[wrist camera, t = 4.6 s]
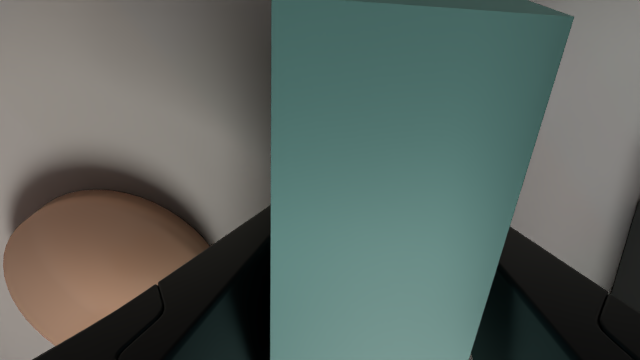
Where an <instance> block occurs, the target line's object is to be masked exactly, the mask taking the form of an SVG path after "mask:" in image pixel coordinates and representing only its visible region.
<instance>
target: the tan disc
mask: <svg viewBox="0 0 640 360" xmlns="http://www.w3.org/2000/svg"><path fill="white" fill-rule="evenodd" d="M209 247H210V246H209V245H208V244H207V242H206V241H205V240H204V239H203V238H202V237H201V236H200V235H199V234H198V233H197V232H196V231H195V230H194V229H193V228H192V227H191V226H190V225H189V224H187V223H186V222H185V221H184V220H182V219H181V218H180V217H178V216H177V215H175V214H173V213H172V212H170V211H169V210H167V209H165V208H163V207H161V206H159V205H157V204H155V203H154V202H151V201H148V200H146V199H143V198H141V197H138V196H134V195H131V194H127V193H123V192H117V191H111V190H95V189H94V190H81V191H76V192H72V193H67V194H65V195H62V196H60V197H57V198H55V199H53V200H52V201H50V202H48V203H47V204H45V205H44V206H43V207H42V208H40V209H39V210H38V211H36V212H35V213H34V214H33V215H31V216H30V217H29V218H28V219H26V220H25V221H24V222H23V223H22V224H21V225H19V226H18V227H17V228H16V230H15V231H14V232H13V234H12V235H11V236H10V238H9V241H8V243H7V245H6V248H5V252H4V260H3V269H4V277H5V280H6V284H7V287H8V290H9V292H10V294H11V297H12V299H13V301H14V302H15V304H16V306H17V307H18V309H19V310H20V312H21V313H22V314H23V316H24V317H25V318H26V320H27V321H28V322H29V323H30V324H31V325H32V326H33V327H34V328H35V329H36V330H37V331H38V332H39V333H40V334H41V335H42V336H43V337H44V338H46V339H47V340H48V341H50V342H51V343H52V344H54V345H55V346H57V345H58V344H60V343H62V342H63V341H65V340H67V339H69V338H70V337H72V336H74V335H75V334H77V333H79V332H81V331H82V330H84V329H86V328H87V327H89V326H91V325H92V324H94V323H96V322H97V321H99V320H101V319H102V318H104V317H106V316H107V315H109V314H111V313H112V312H114V311H115V310H117V309H118V308H120V307H122V306H123V305H125V304H126V303H128V302H129V301H131V300H132V299H134V298H135V297H137V296H138V295H140V294H141V293H143V292H144V291H146V290H147V289H149V288H150V287H152V286H153V285H155V284H156V285H158V282H159V281H160V280H162V279H163V278H165V277H166V276H168V275H169V274H171V273H172V272H174V271H175V270H176V269H178V268H179V267H181V266H182V265H184V264H185V263H187V262H188V261H190V260H191V259H193V258H194V257H196V256H197V255H198V254H200V253H201V252H203V251H204V250H206V249H207V248H209Z"/></svg>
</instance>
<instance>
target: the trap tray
mask: <svg viewBox="0 0 640 360" xmlns="http://www.w3.org/2000/svg"><path fill="white" fill-rule="evenodd" d="M611 294H612V295H614V296H615V297H617V298H618V299H620V300H621V301H623V302H624V303H626V304H627V305H629V306H630V307H632V308H633V309H635V310H637V311H638V312H640V202H638V206H637V209H636V213H635V216H634V219H633V223H632V226H631V229H630V233H629V236H628V239H627V243H626V246H625V249H624V253H623V256H622V259H621V263H620V266H619V270H618V273H617V276H616V280H615V283H614V286H613V290H612V293H611Z"/></svg>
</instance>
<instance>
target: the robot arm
mask: <svg viewBox="0 0 640 360" xmlns="http://www.w3.org/2000/svg"><path fill="white" fill-rule="evenodd" d="M270 293H271V205H270V206H269V207H267V208H266V209H264V210H263V211H261V212H260V213H258V214H257V215H255V216H254V217H252V218H251V219H250V220H248V221H247V222H245V223H244V224H242V225H241V226H239V227H238V228H236V229H235V230H233V231H232V232H231V233H229V234H228V235H226V236H225V237H223V238H222V239H220V240H219V241H217V242H216V243H214V244H213V245H212V246H210V247H209V248H207V249H206V250H204V251H203V252H201V253H200V254H198V255H197V256H196V257H194V258H193V259H191V260H190V261H188V262H187V263H185V264H184V265H182V266H181V267H179V268H178V269H176V270H175V271H174V272H172V273H171V274H169V275H168V276H166V277H165V278H163V279H162V280H160V281H159V282H158V285H156V284H155V285H153V286H152V287H150V288H149V289H147V290H146V291H144V292H143V293H141V294H140V295H138V296H137V297H135V298H134V299H132V300H131V301H129V302H128V303H126V304H125V305H123V306H122V307H120V308H118V309H117V310H115V311H114V312H112V313H111V314H109V315H107V316H106V317H104V318H102V319H101V320H99V321H97V322H96V323H94V324H92V325H91V326H89V327H87V328H86V329H84V330H82V331H81V332H79V333H77V334H75V335H74V336H72V337H70V338H69V339H67V340H65V341H63V342H62V343H60V344H58V345H57V346H55V347H53V348H51V349H50V350H48V351H46V352H45V353H43V354H41V355H39V356H38V357H36V358H34V359H33V360H270ZM471 355H472V358H473V360H640V312H638V311H637V310H635V309H633V308H632V307H630V306H629V305H627V304H626V303H624V302H623V301H621V300H620V299H618V298H617V297H615V296H614V295H612V294H609V295H608V292H607V291H606V290H605V289H603V288H602V287H600V286H599V285H597V284H596V283H594V282H593V281H591V280H590V279H588V278H587V277H585V276H584V275H582V274H581V273H579V272H578V271H576V270H575V269H573V268H572V267H570V266H569V265H567V264H566V263H564V262H563V261H561V260H560V259H558V258H557V257H555V256H554V255H552V254H551V253H549V252H548V251H546V250H545V249H543V248H542V247H540V246H539V245H537V244H536V243H534V242H533V241H531V240H530V239H528V238H527V237H525V236H524V235H522V234H521V233H519V232H518V231H516V230H515V229H513V228H512V227H509V230H508V233H507V237H506V240H505V243H504V246H503V250H502V253H501V256H500V259H499V263H498V266H497V269H496V272H495V276H494V279H493V282H492V285H491V289H490V292H489V295H488V298H487V302H486V305H485V308H484V311H483V315H482V318H481V321H480V324H479V328H478V331H477V334H476V337H475V341H474V344H473V347H472V350H471Z"/></svg>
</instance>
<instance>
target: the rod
mask: <svg viewBox="0 0 640 360" xmlns="http://www.w3.org/2000/svg"><path fill="white" fill-rule="evenodd" d="M573 19H574V17H573V16H570V15H568V14H565V13H562V12H559V11H556V10H553V9H551V8H548V7H545V6H542V5H539V4H536V3H534V2H531V1H528V0H272V5H271V293H270V360H469V357H470V354H471V350H472V347H473V344H474V341H475V337H476V334H477V331H478V328H479V324H480V321H481V318H482V315H483V311H484V308H485V305H486V302H487V298H488V295H489V292H490V289H491V285H492V282H493V279H494V276H495V272H496V269H497V266H498V263H499V259H500V256H501V253H502V250H503V246H504V243H505V240H506V237H507V233H508V230H509V227H510V224H511V220H512V217H513V214H514V211H515V207H516V204H517V201H518V198H519V194H520V191H521V188H522V185H523V181H524V178H525V175H526V172H527V168H528V165H529V162H530V159H531V155H532V152H533V149H534V146H535V143H536V139H537V136H538V133H539V130H540V126H541V123H542V120H543V117H544V113H545V110H546V107H547V104H548V100H549V97H550V94H551V91H552V87H553V84H554V81H555V78H556V74H557V71H558V68H559V65H560V61H561V58H562V55H563V52H564V48H565V45H566V42H567V39H568V35H569V32H570V29H571V26H572V22H573Z"/></svg>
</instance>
